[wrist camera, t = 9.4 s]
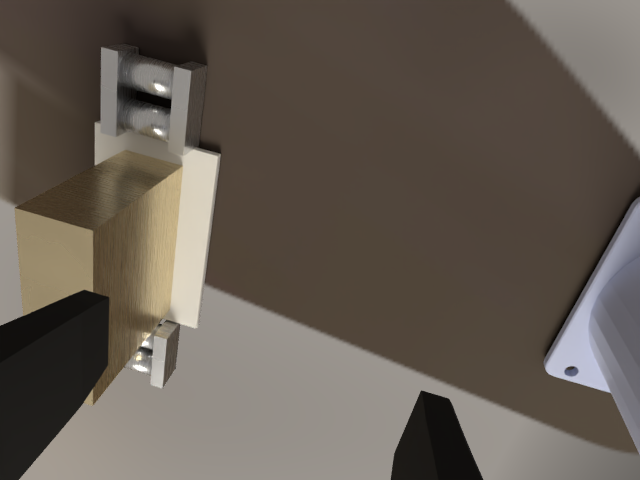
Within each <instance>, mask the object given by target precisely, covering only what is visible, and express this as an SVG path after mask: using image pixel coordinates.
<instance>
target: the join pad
mask: <svg viewBox="0 0 640 480" xmlns="http://www.w3.org/2000/svg"><path fill="white" fill-rule="evenodd" d="M100 130H101V121H97V122H95V165H97V164H99V163H101V162H103V161H105V160H107V159H108V158H110V157H112V156H114V155H116V154H118V153H120V152H122V151H124V150H128V151H132V152H135V153H139V154H142V155H146V156H149V157H153V158H157V159H160V160H164V161H167V162H171V163H175V164H178V165H182V166H183V173H182V184H181V195H180V206H179V217H178V228H177V238H176V249H175V260H174V271H173V282H172V293H171V304H170V310H169V311H168V313H167V314H166V315H165V316H164V318H163V319H166V320H169V321H173V322H176V323H179V324H183V325H186V326H190V327H193V328H197V327H198V326H199V322H200V313H201V306H202V298H203V289H204V282H205V275H206V267H207V259H208V251H209V243H210V235H211V228H212V220H213V212H214V204H215V196H216V188H217V181H218V173H219V165H220V157H221V154H219V153H215V152H212V151H208V150H205V149H201V148H197V147H196V148H194V149H193V150H192V151H190V152H189V153H187V154H186V155H184V156H182V155H178V154H175V153H171V152H168V142H164V141H160V140H157V139H153V138H149V137H146V136H142V135H139V134H135V133H131V132H126V133H124V134H122V135H119V136H117V137H113V136H110V135H106V134H103V133H100Z"/></svg>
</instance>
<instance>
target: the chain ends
mask: <svg viewBox="0 0 640 480" xmlns="http://www.w3.org/2000/svg"><path fill="white" fill-rule="evenodd" d="M206 74H207V65H203V64H199V63H196V62H192V61H191V62H188V63H184V64H181V65H176V64H172V63H168V62H165V61H161V60H157V59H153V58H149V57H146V56H142V55H139V47H135V46H131V45H127V44H124V43H123V44H117V45H111V46H105V47H101V130H100V133H103V134H106V135H110V136H113V137H117V136H119V135H122V134H124V133H126V132H131V133H135V134H139V135H142V136H146V137H149V138H153V139H157V140H160V141H164V142H168V152H171V153H175V154H178V155H182V156H184V155H186V154H187V153H189V152H190V151H192V150H193V149H194V148H196V147H197V146H199V140H200V131H201V121H202V112H203V102H204V93H205V83H206ZM137 90H138V91H141V92H145V93H149V94H152V95H156V96H160V97H164V98H167V99H171V100H172V103H171V109H169V108H165V107H161V106H158V105H154V104H150V103H147V102H143V101H139V100H137ZM179 330H180V324H179V323H176V322H173V321H169V320H166V321H165V322H164V324H163V325H162V324H158V325H157V326H156V328H155V329H154V330H153V331H152V333H151V334H150V335H149V336H148V338H147V339H146V340H145V341H144V343H143V344H142V345H141V346H140V348H139V349H138V350H137V351H136V353H135V354H134V355H133V356H132V358H131V359H130V360H129V361H128V363H127V364H126V365H125V366H124V368H127V369H131V370H134V371H138V372H140V373H144V374H147V375H150V376H151V385H152V386H156V387H159V388H163V387H164V386H165V384H166V382H167V381H168V379H169V378H170V376H171V375H172V373H173V372H174V370H175V369H176V358H177V350H178V341H179Z"/></svg>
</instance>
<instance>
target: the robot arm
mask: <svg viewBox="0 0 640 480" xmlns="http://www.w3.org/2000/svg"><path fill="white" fill-rule="evenodd" d="M108 345H109V297H107V296H104V295H101V294H97V293H94V292H91V291H87V290H82V291H80V292H77V293H75V294H72V295H70V296H67V297H65V298H63V299H61V300H58V301H56V302H54V303H51V304H49V305H47V306H45V307H42V308H40V309H38V310H36V311H33V312H31V313H29V314H27V315H24V316H22V317H20V318H17V319H15V320H13V321H11V322H8V323H6V324H4V325H1V326H0V480H19V479H20V478H21V476H22V475H23V474H24V473H25V472H26V470H27V469H28V468H29V467H30V466H31V465H32V464H33V462H34V461H35V460H36V459H37V458H38V456H39V455H40V454H41V453H42V452H43V450H44V449H45V448H46V447H47V446H48V445H49V444H50V442H51V441H52V440H53V439H54V438H55V437H56V435H57V434H58V433H59V432H60V431H61V429H62V428H63V427H64V426H65V425H66V423H67V422H68V421H69V420H70V419H71V417H72V416H73V415H74V414H75V413H76V411H77V410H78V409H79V408H80V407H81V405H82V404H83V403H84V401H85V400H86V398H87V397H88V395H89V394H90V392H91V391H92V389H93V388H94V387H95V385H96V383H97V382H98V380H99V379H100V377H101V375H102V374H103V372H104V371H105V369H106V368H107V366H108ZM544 366H545V369H546V371H547V372H548V374H550V375H552V376H555V377H558V378H561V379H565V380H568V381H572V382H575V383H579V384H582V385H585V386H589V387H592V388H596V389H599V390H602V391H606V392H609V393H611V394H612V396H613V398H614V400H615V402H616V405H617V407H618V409H619V411H620V413H621V415H622V417H623V420H624V422H625V424H626V426H627V428H628V430H629V432H630V434H631V437H632V439H633V441H634V443H635V445H636V447H637V449H638V452H639V454H640V197H639V198H637V199H635V201H634V202H633V203H632V204H631V206H630V208H629V210H628V211H627V213H626V215H625V217H624V218H623V220H622V222H621V224H620V226H619V227H618V229H617V231H616V233H615V234H614V236H613V238H612V240H611V242H610V243H609V245H608V247H607V249H606V250H605V252H604V254H603V256H602V258H601V259H600V261H599V263H598V265H597V266H596V268H595V270H594V272H593V274H592V275H591V277H590V279H589V281H588V282H587V284H586V286H585V288H584V290H583V291H582V293H581V295H580V297H579V298H578V300H577V302H576V304H575V306H574V307H573V309H572V311H571V313H570V314H569V316H568V318H567V320H566V322H565V323H564V325H563V327H562V329H561V330H560V332H559V334H558V336H557V337H556V339H555V341H554V343H553V345H552V346H551V348H550V350H549V352H548V353H547V355H546V357H545V359H544ZM569 366H575V368H574V369H571V370H566V368H567V367H569ZM391 480H483V478H482V476H481V473H480V471H479V469H478V467H477V464H476V462H475V460H474V458H473V455H472V453H471V451H470V448H469V446H468V444H467V441H466V439H465V436H464V434H463V431H462V429H461V426H460V424H459V421H458V419H457V416H456V414H455V411H454V408H453V406H452V403H451V402H450V400H449V399H448V398H445V397H442V396H438V395H435V394H431V393H428V392H425V391H421V392H420V394H419V397H418V399H417V401H416V404H415V406H414V409H413V411H412V413H411V416H410V418H409V420H408V423H407V425H406V427H405V430H404V432H403V434H402V437H401V439H400V441H399V444H398V446H397V448H396V451H395V453H394V460H393V467H392V475H391Z"/></svg>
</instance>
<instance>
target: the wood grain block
mask: <svg viewBox="0 0 640 480" xmlns="http://www.w3.org/2000/svg"><path fill="white" fill-rule="evenodd" d="M182 173H183V166H182V165H178V164H175V163H171V162H167V161H164V160H160V159H157V158H153V157H149V156H146V155H142V154H139V153H135V152H132V151H128V150H124V151H122V152H120V153H118V154H116V155H114V156H112V157H110V158H108V159H107V160H105V161H103V162H101V163H99V164H97V165H95V166H93V167H91V168H89V169H88V170H86V171H84V172H82V173H80V174H78V175H76V176H74V177H72V178H70V179H69V180H67V181H65V182H63V183H61V184H59V185H57V186H55V187H53V188H52V189H50V190H48V191H46V192H44V193H42V194H40V195H38V196H36V197H34V198H33V199H31V200H29V201H27V202H25V203H23V204H21V205H19V206H17V207H15V219H16V231H17V244H18V256H19V269H20V280H21V293H22V305H23V316H24V315H27V314H29V313H31V312H33V311H36V310H38V309H40V308H42V307H45V306H47V305H49V304H51V303H54V302H56V301H58V300H61V299H63V298H65V297H67V296H70V295H72V294H75V293H77V292H80V291H82V290H87V291H91V292H94V293H97V294H101V295H104V296H107V297H109V345H108V366H107V368H106V369H105V371H104V372H103V374H102V375H101V377H100V379H99V380H98V382H97V383H96V385H95V387H94V388H93V389H92V391H91V392H90V394H89V395H88V397H87V398H86V400H85V401H84V403H85V404H89V405H92V406H93V405H94V404H95V403H96V401H97V400H98V399H99V397H100V396H101V395H102V394H103V393H104V391H105V390H106V389H107V388H108V386H109V385H110V384H111V383H112V381H113V380H114V379H115V378H116V376H117V375H118V374H119V372H120V371H121V370H122V369H123V368H124V366H125V365H126V364H127V363H128V361H129V360H130V359H131V358H132V356H133V355H134V354H135V353H136V351H137V350H138V349H139V348H140V346H141V345H142V344H143V343H144V341H145V340H146V339H147V338H148V336H149V335H150V334H151V333H152V331H153V330H154V329H155V328H156V326H157V325H158V324H159V323H160V321H161V320H162V319H163V318H164V316H165V315H166V314H167V313H168V311H169V310H170V304H171V293H172V282H173V271H174V260H175V249H176V238H177V228H178V217H179V206H180V195H181V184H182Z"/></svg>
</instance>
